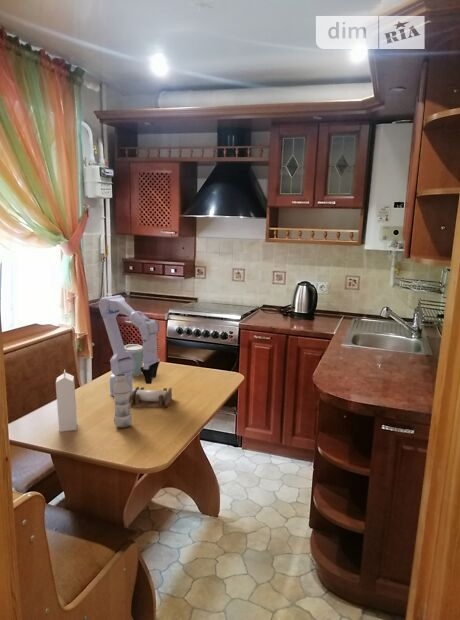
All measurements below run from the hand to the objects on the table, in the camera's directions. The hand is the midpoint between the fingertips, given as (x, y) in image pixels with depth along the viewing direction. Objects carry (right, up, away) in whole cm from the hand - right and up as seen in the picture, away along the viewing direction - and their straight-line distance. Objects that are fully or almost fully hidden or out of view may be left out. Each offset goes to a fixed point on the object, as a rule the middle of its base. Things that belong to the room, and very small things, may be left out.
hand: (151, 380), depth 189 cm
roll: (0, -9, +1) cm, 9 cm away
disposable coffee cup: (-15, -3, +38) cm, 40 cm away
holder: (0, -10, +2) cm, 10 cm away
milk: (-27, -14, -22) cm, 37 cm away
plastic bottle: (-7, -14, -20) cm, 26 cm away
